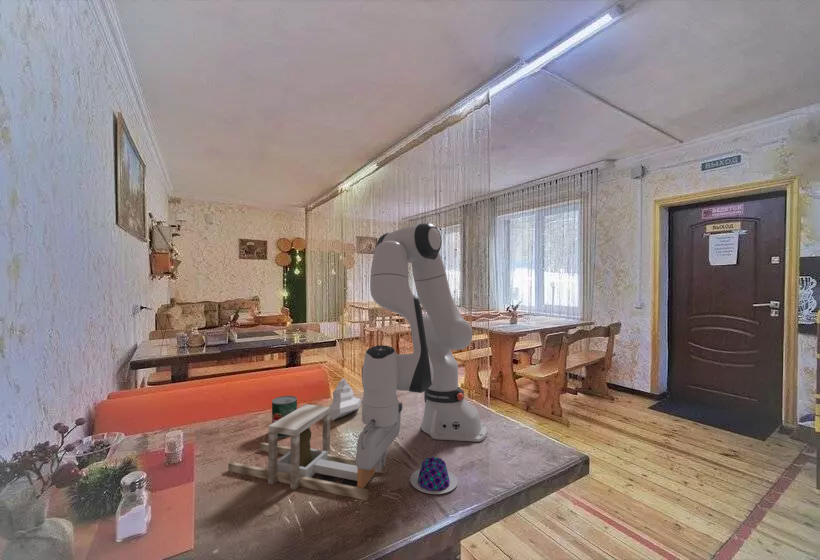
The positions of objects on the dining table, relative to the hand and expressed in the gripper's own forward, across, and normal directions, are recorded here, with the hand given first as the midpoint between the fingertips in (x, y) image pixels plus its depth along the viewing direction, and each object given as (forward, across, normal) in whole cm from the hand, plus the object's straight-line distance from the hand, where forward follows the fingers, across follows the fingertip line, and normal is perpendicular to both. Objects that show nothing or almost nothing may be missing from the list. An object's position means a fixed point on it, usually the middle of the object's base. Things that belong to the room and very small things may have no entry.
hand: (379, 469), depth 87 cm
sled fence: (+4, 0, +15) cm, 16 cm away
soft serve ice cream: (+4, +38, +30) cm, 49 cm away
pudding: (+5, +6, -12) cm, 15 cm away
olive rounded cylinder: (+4, 0, +23) cm, 23 cm away
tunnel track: (+4, 0, +21) cm, 21 cm away
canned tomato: (+4, +18, +42) cm, 46 cm away
